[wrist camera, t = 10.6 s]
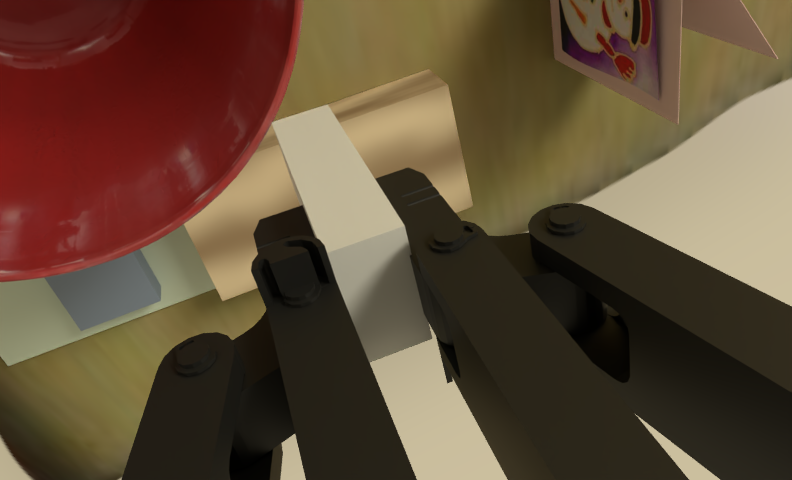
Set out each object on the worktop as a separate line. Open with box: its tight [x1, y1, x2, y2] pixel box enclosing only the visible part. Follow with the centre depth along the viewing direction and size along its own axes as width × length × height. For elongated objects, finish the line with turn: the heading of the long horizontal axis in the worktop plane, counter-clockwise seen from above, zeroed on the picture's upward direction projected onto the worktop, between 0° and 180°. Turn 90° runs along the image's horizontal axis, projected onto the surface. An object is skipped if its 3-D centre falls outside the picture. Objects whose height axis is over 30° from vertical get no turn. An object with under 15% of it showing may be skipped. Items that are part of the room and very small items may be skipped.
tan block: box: [184, 69, 473, 301], centre depth 49 cm, size 10×20×4 cm, turn 105°
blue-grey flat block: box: [45, 249, 161, 331], centre depth 47 cm, size 8×6×2 cm
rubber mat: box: [0, 224, 216, 366], centre depth 48 cm, size 11×17×1 cm, turn 105°
